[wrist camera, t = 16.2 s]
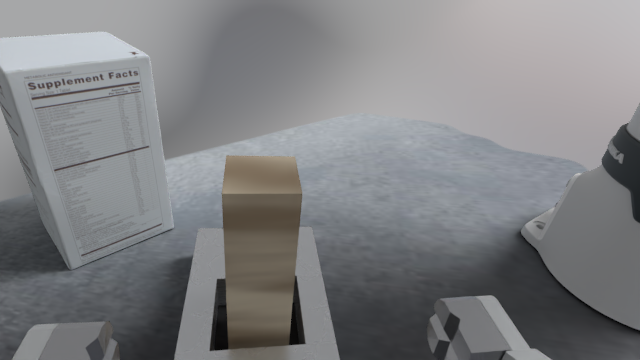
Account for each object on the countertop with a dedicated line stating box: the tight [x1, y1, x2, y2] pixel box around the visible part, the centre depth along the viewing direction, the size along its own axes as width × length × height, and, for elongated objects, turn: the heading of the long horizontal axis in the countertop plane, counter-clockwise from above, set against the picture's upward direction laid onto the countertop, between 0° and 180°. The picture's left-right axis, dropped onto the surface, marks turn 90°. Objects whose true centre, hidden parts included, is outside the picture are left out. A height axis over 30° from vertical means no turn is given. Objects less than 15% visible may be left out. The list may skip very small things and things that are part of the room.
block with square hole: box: [174, 227, 340, 360], centre depth 27 cm, size 18×10×3 cm, turn 9°
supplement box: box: [0, 32, 174, 270], centre depth 33 cm, size 10×9×17 cm
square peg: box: [222, 156, 302, 350], centre depth 24 cm, size 4×4×14 cm
